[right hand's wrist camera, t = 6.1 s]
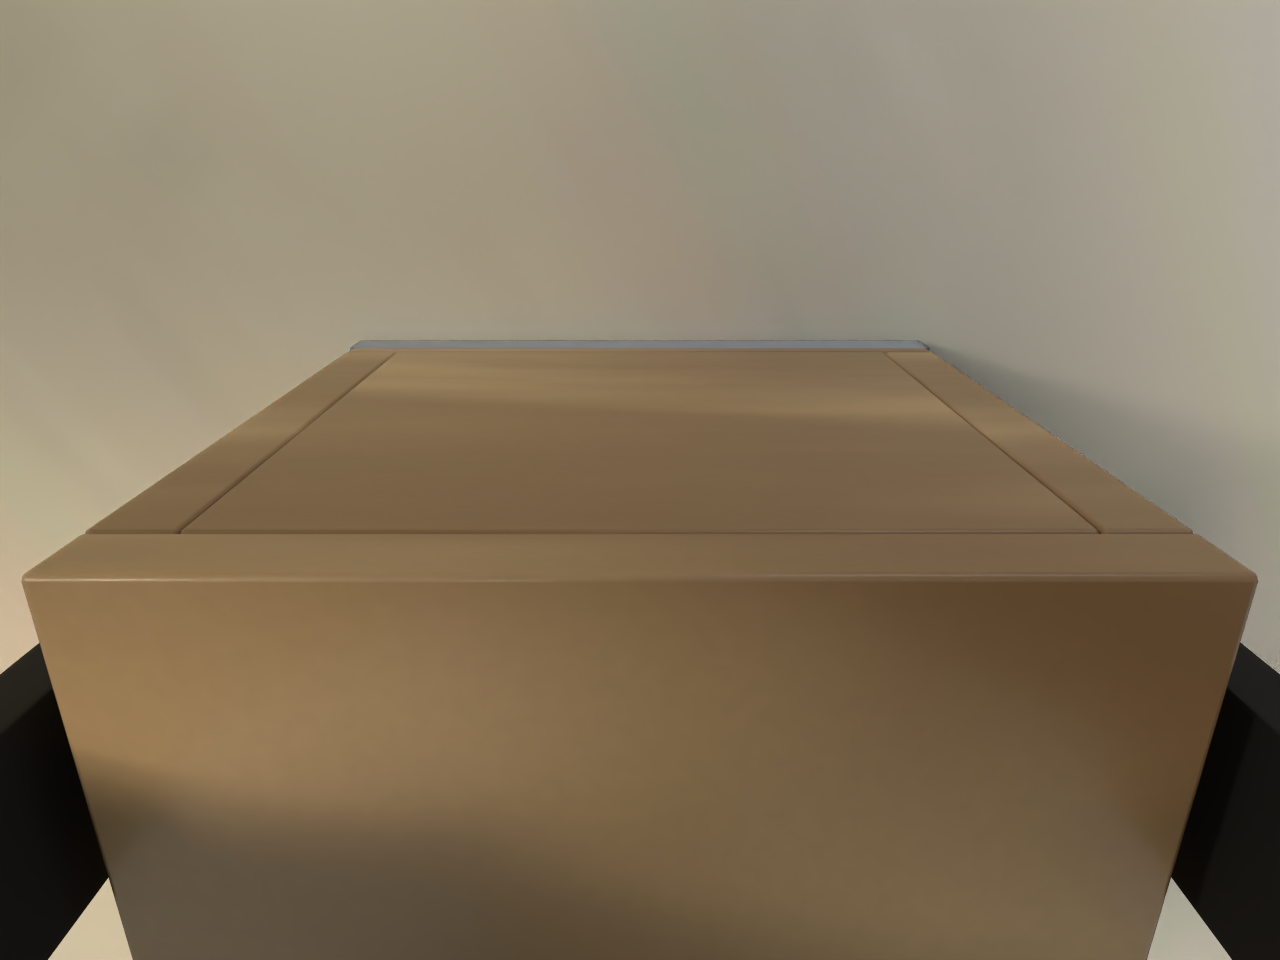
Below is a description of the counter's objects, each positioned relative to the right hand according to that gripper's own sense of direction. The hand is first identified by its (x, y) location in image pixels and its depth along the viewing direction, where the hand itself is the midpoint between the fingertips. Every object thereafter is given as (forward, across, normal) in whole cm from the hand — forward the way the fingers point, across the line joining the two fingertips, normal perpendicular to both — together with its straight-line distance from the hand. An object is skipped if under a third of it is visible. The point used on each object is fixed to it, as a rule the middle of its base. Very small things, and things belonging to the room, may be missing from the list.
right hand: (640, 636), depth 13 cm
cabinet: (+6, 0, -5) cm, 8 cm away
